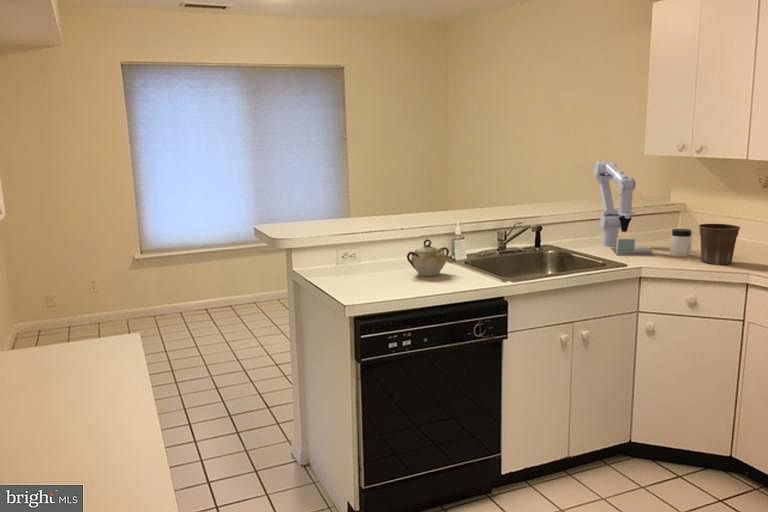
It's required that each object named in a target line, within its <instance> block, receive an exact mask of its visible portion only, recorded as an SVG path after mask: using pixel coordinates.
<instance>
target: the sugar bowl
mask: <svg viewBox="0 0 768 512" xmlns="http://www.w3.org/2000/svg"><path fill="white" fill-rule="evenodd" d="M427 242H428V244H426V243H427ZM431 245H432V241H431V240H430V239H429V238H426V239H425V240H424V241H423V246H422V247H420V248H418V249H415V250H414V251H409V252H408V253H407V255H406V260H407V261H408V263H409V264H410V265H411V266H412V268H413V269H414V270H415V271H416V272H417V274H418V275H419V276H421V277H436V276H439V274H440V273H441V271H442V269H443V268H444V267H445V265H446V263H447V258H448V257H449V254H450V251H449V248H447V247H446V246H444V247H443V246H442V247H440V248H437V247H434V246H431ZM445 251H446V254H445Z"/></svg>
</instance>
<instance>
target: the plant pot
mask: <svg viewBox="0 0 768 512" xmlns="http://www.w3.org/2000/svg"><path fill="white" fill-rule="evenodd" d="M698 228H699V235H700V261H701V262H702V263H707V264H708V263H709V264H710V265H714V264H726V265H731V264H732V263H733V257H734V253H735V247H736V242H737V238H738V235H739V231H740V229H741V226H739V225H736V224H735V225H734V224H727V223H702V224H698ZM709 264H708V265H709Z"/></svg>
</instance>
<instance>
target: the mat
mask: <svg viewBox="0 0 768 512" xmlns="http://www.w3.org/2000/svg"><path fill="white" fill-rule="evenodd" d="M610 249H611V251H613V253H614V254H615V255H616V256H617V257H644V258H645V257H646V258H647V257H651V258H653V257H655V258H657V256H656V254H654V253H653V252H651V250H650V251H635V253H617V252H616V249H617V247H610Z"/></svg>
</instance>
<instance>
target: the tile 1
mask: <svg viewBox="0 0 768 512" xmlns="http://www.w3.org/2000/svg"><path fill="white" fill-rule="evenodd" d="M635 246H636V238H635V237H618V238H617V247H616V248H617V249H616V252H617V253H635Z"/></svg>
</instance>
